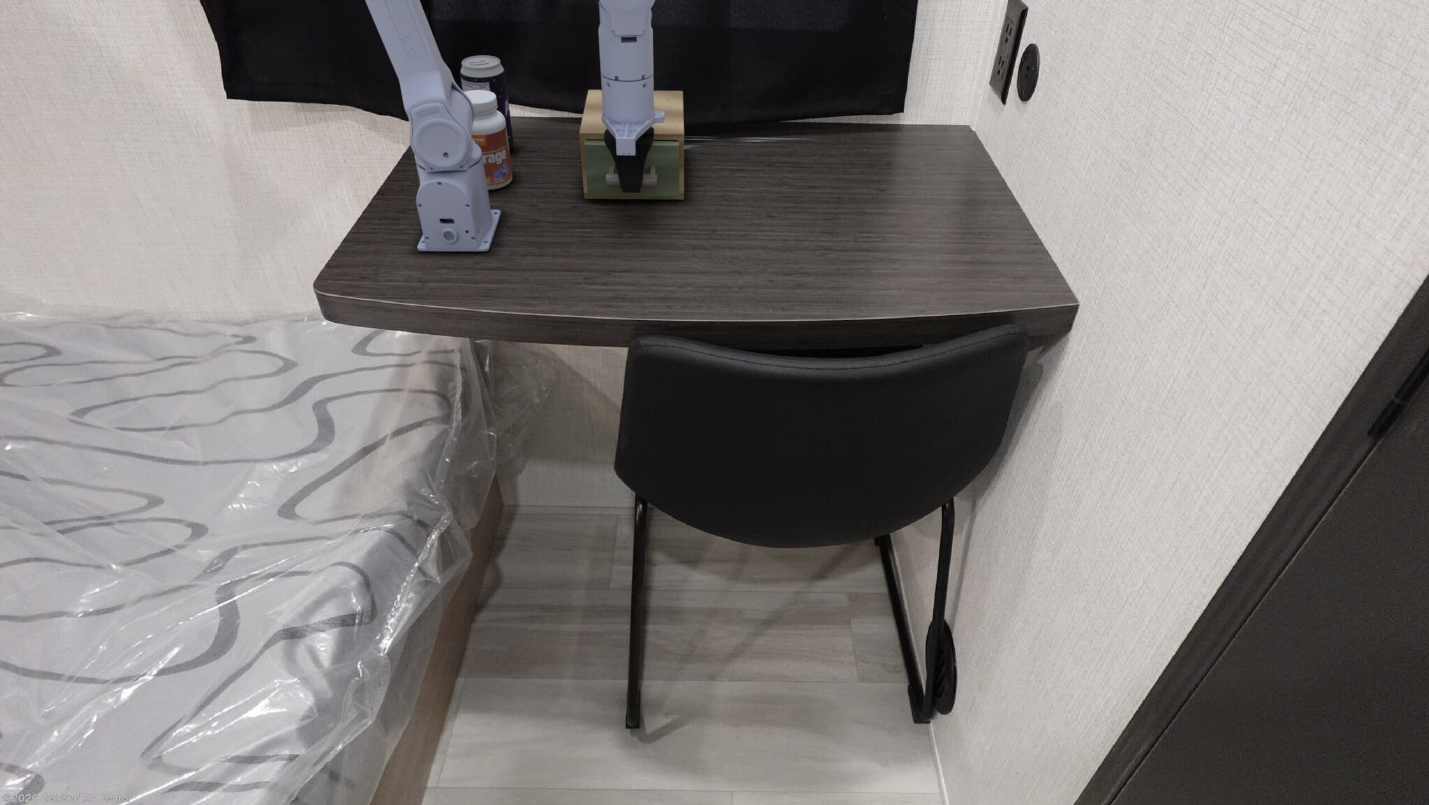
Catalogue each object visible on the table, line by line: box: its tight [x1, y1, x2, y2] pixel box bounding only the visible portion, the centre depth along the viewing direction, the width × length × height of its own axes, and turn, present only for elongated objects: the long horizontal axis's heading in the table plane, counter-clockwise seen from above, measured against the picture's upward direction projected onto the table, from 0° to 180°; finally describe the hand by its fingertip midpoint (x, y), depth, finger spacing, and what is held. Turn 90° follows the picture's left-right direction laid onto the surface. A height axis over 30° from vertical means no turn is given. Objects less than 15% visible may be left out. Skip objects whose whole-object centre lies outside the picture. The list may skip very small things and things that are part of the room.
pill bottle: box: [464, 90, 513, 191], centre depth 105 cm, size 6×6×11 cm
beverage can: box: [459, 54, 515, 150], centre depth 113 cm, size 6×6×12 cm
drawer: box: [584, 139, 679, 197], centre depth 106 cm, size 18×11×7 cm, turn 2°
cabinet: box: [578, 89, 685, 200], centre depth 109 cm, size 15×13×9 cm
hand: (631, 190), depth 99 cm, fingers closed, pressing on drawer
